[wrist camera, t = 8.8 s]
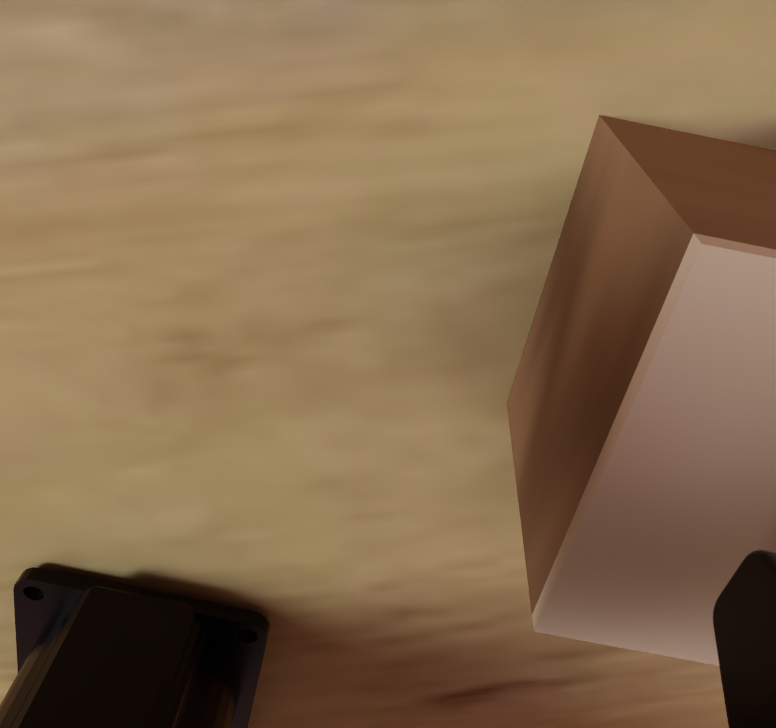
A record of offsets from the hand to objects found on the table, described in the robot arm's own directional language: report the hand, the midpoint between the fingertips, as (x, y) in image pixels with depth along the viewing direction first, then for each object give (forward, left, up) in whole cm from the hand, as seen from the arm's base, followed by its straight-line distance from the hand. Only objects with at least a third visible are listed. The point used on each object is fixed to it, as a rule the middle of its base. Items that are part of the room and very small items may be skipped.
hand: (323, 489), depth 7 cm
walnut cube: (0, -6, -1) cm, 6 cm away
